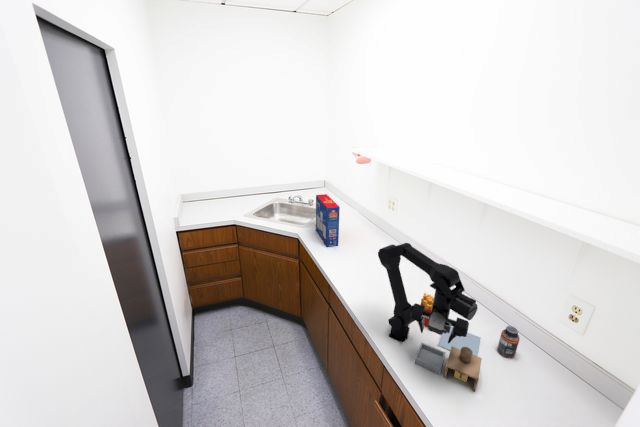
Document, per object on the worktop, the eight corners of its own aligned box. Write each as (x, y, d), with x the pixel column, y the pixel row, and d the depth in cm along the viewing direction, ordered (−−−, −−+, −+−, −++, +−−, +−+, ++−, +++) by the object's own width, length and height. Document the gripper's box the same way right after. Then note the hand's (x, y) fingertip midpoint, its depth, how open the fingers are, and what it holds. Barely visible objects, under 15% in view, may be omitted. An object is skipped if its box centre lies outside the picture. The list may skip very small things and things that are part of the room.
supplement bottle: (508, 346, 117) (515, 323, 113) (518, 358, 112) (525, 335, 108) (493, 346, 117) (499, 323, 113) (502, 358, 111) (509, 335, 107)
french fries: (416, 316, 133) (420, 292, 128) (424, 315, 134) (428, 291, 129) (428, 330, 125) (433, 305, 120) (437, 329, 126) (442, 304, 121)
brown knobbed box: (443, 377, 104) (448, 356, 100) (449, 358, 112) (453, 337, 108) (474, 391, 99) (481, 369, 95) (478, 370, 107) (484, 349, 103)
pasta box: (338, 246, 197) (339, 206, 187) (326, 247, 195) (327, 207, 185) (326, 229, 222) (326, 194, 212) (315, 230, 220) (316, 195, 210)
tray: (414, 363, 109) (415, 358, 108) (420, 347, 116) (421, 342, 115) (439, 374, 105) (440, 369, 104) (444, 357, 112) (445, 352, 111)
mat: (437, 345, 117) (437, 345, 117) (444, 324, 128) (444, 324, 128) (476, 361, 110) (476, 360, 110) (480, 337, 121) (480, 337, 121)
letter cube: (453, 377, 104) (455, 368, 103) (455, 368, 107) (457, 360, 106) (466, 382, 102) (468, 374, 101) (467, 373, 105) (469, 365, 104)
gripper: (408, 306, 99) (403, 341, 105) (469, 327, 90) (459, 364, 96) (416, 289, 108) (411, 322, 114) (473, 306, 99) (463, 342, 105)
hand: (434, 337), depth 107 cm, fingers open, 9 cm apart
